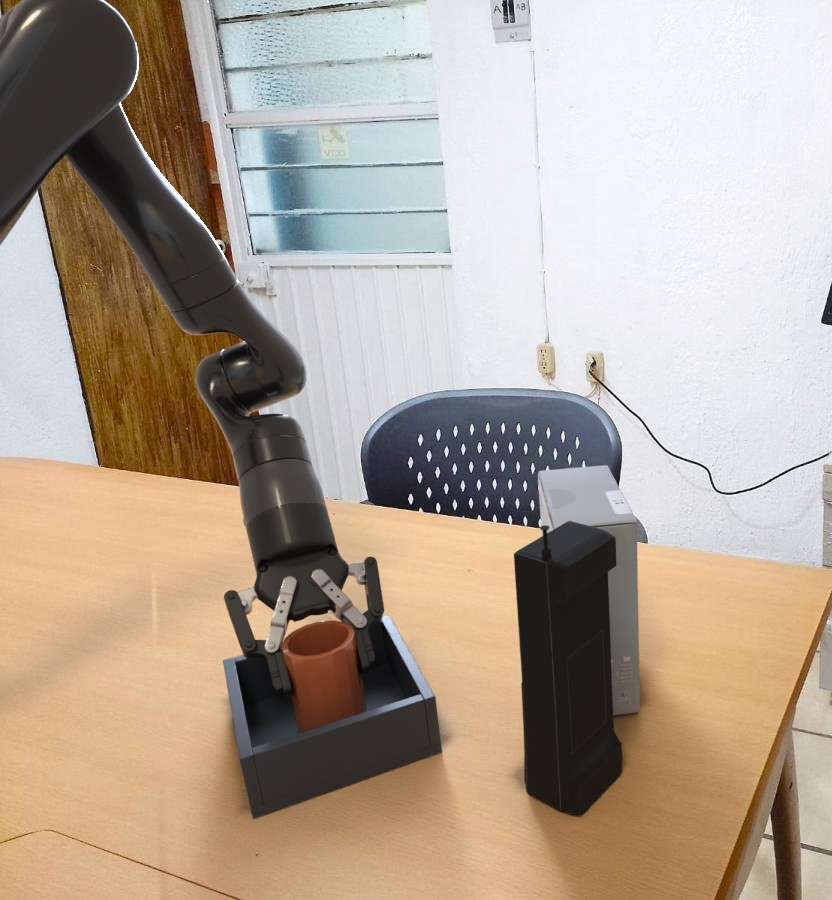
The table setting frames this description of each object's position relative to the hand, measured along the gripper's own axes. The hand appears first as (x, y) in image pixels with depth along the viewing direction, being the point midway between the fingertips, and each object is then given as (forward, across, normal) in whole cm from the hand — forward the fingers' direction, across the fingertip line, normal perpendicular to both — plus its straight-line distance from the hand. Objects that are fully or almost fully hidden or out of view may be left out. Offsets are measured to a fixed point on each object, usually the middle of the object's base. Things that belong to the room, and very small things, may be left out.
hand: (328, 682), depth 74 cm
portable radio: (+16, +17, -6) cm, 24 cm away
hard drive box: (+6, +25, +3) cm, 26 cm away
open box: (+3, 0, +6) cm, 7 cm away
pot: (+3, 0, +5) cm, 6 cm away
